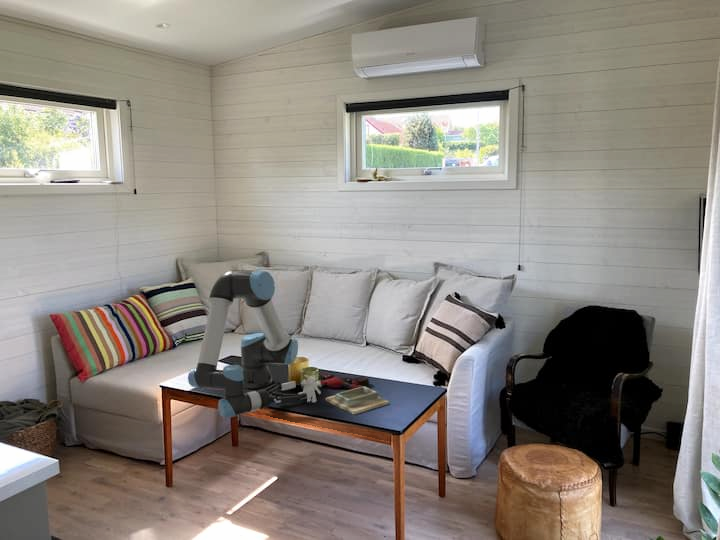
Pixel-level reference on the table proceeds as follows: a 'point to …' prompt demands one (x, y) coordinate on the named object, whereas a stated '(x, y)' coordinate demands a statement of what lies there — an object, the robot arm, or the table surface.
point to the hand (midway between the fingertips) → (303, 388)
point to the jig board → (357, 400)
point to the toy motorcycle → (342, 381)
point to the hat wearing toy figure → (311, 387)
